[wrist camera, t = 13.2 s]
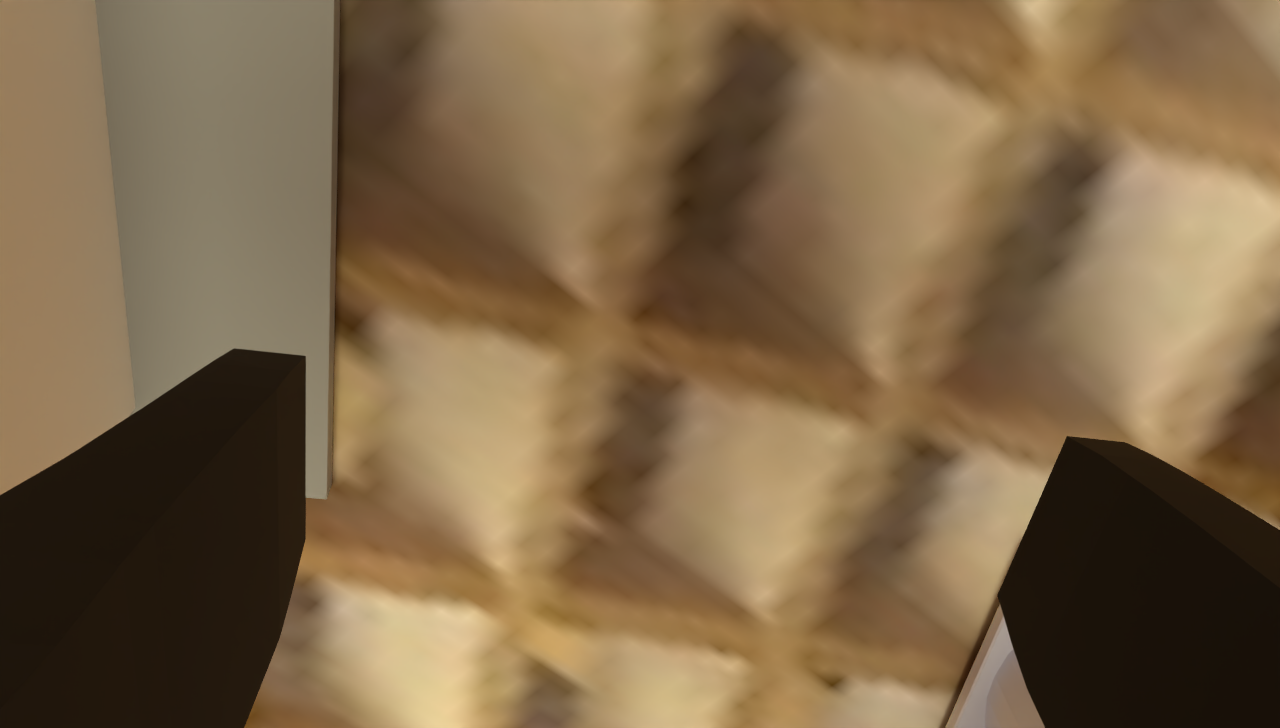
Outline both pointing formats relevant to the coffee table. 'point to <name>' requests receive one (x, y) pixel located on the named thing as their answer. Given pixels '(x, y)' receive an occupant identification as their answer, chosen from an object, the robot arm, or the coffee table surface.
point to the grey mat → (226, 188)
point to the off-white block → (57, 242)
